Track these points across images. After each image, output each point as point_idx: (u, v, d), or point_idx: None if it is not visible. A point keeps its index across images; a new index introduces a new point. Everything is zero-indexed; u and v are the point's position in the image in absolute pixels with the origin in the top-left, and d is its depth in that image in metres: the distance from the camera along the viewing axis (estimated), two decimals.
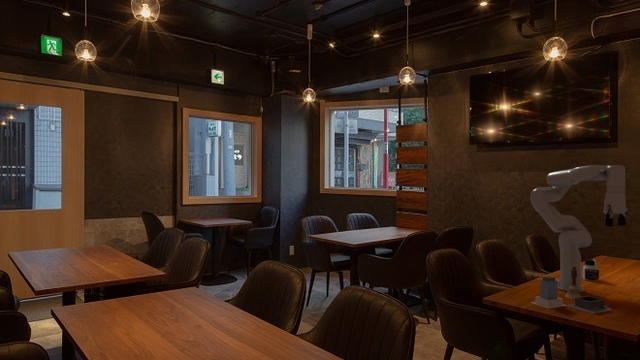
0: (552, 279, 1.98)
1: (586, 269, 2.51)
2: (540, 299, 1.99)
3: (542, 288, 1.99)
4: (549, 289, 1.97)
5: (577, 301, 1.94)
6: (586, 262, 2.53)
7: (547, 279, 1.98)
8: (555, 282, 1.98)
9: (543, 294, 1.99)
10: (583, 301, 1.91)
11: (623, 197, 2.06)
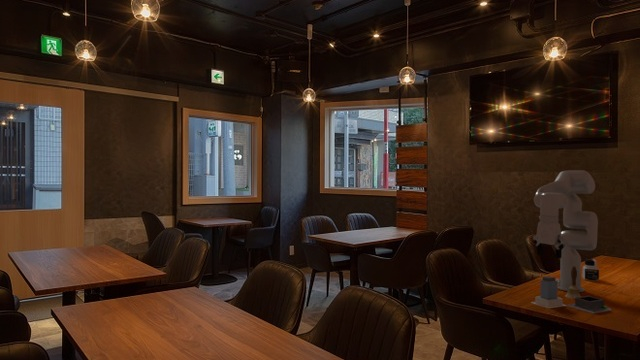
0: (552, 279, 1.98)
1: (586, 269, 2.51)
2: (540, 299, 1.99)
3: (542, 288, 1.99)
4: (549, 289, 1.97)
5: (577, 301, 1.94)
6: (586, 262, 2.53)
7: (547, 279, 1.98)
8: (555, 282, 1.98)
9: (543, 294, 1.99)
10: (583, 301, 1.91)
11: None
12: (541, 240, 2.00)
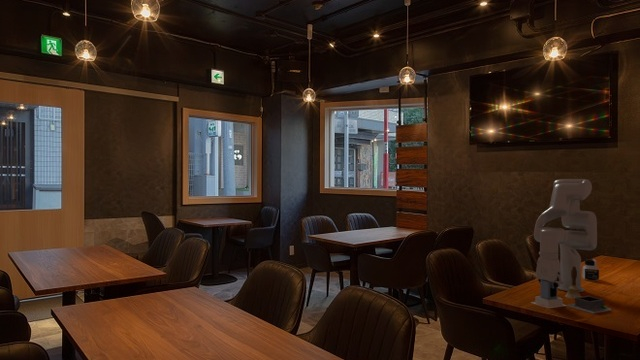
0: None
1: (586, 269, 2.51)
2: (540, 299, 1.99)
3: (542, 288, 1.99)
4: (549, 289, 1.97)
5: (577, 301, 1.94)
6: (586, 262, 2.53)
7: None
8: None
9: (543, 294, 1.99)
10: (583, 301, 1.91)
11: None
12: (541, 276, 2.00)
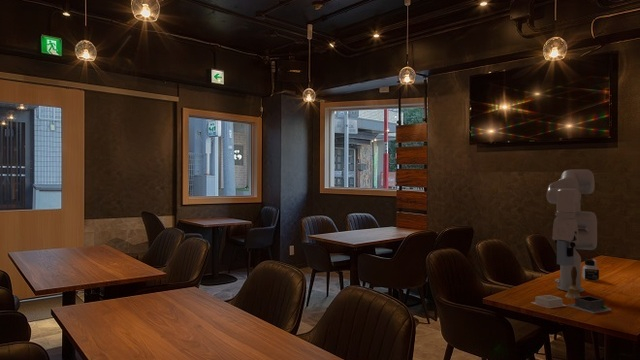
0: None
1: (586, 269, 2.51)
2: (540, 299, 1.99)
3: (558, 248, 1.97)
4: (565, 249, 1.94)
5: (577, 301, 1.94)
6: (586, 262, 2.53)
7: None
8: None
9: (559, 254, 1.96)
10: (583, 301, 1.91)
11: None
12: (557, 237, 1.98)
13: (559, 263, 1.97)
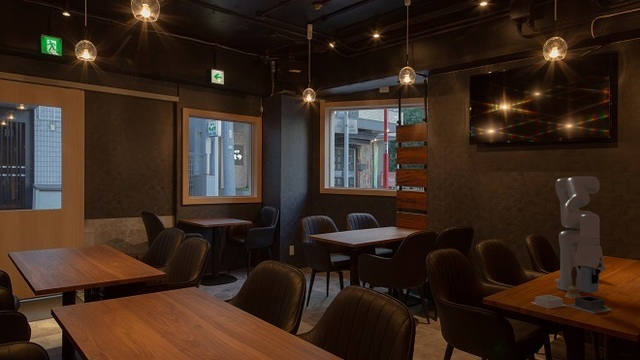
0: None
1: None
2: (540, 299, 1.99)
3: (583, 275, 1.93)
4: (590, 276, 1.90)
5: (577, 301, 1.94)
6: None
7: None
8: None
9: (584, 281, 1.92)
10: (583, 301, 1.91)
11: None
12: (581, 263, 1.94)
13: (583, 290, 1.92)
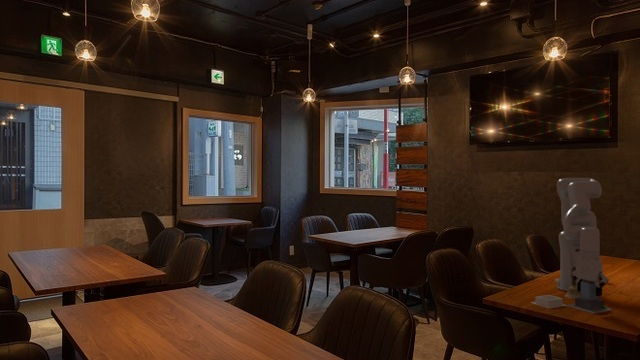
0: None
1: None
2: (540, 299, 1.99)
3: (582, 290, 1.93)
4: (590, 292, 1.91)
5: (577, 301, 1.94)
6: None
7: (588, 281, 1.92)
8: None
9: (584, 296, 1.93)
10: (583, 301, 1.91)
11: None
12: (581, 276, 1.94)
13: None
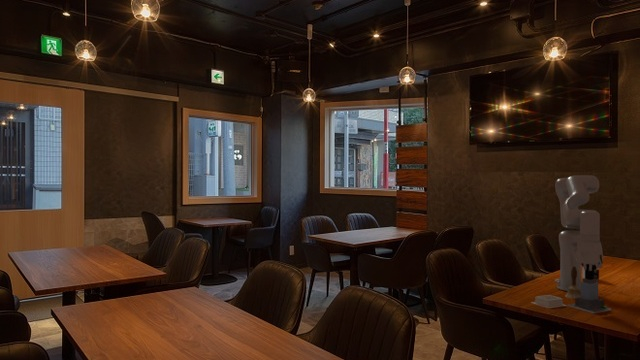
0: (593, 280, 1.92)
1: None
2: (540, 299, 1.99)
3: (582, 290, 1.93)
4: (590, 292, 1.91)
5: (577, 301, 1.94)
6: None
7: (588, 281, 1.92)
8: (596, 284, 1.92)
9: (584, 296, 1.93)
10: (583, 301, 1.91)
11: None
12: (581, 259, 1.94)
13: None
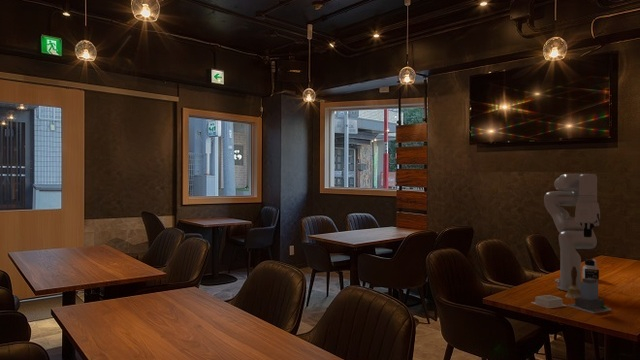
0: (593, 280, 1.92)
1: (586, 269, 2.51)
2: (540, 299, 1.99)
3: (582, 290, 1.93)
4: (590, 292, 1.91)
5: (577, 301, 1.94)
6: (586, 262, 2.53)
7: (588, 281, 1.92)
8: (596, 284, 1.92)
9: (584, 296, 1.93)
10: (583, 301, 1.91)
11: None
12: (580, 219, 2.09)
13: None
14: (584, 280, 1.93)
